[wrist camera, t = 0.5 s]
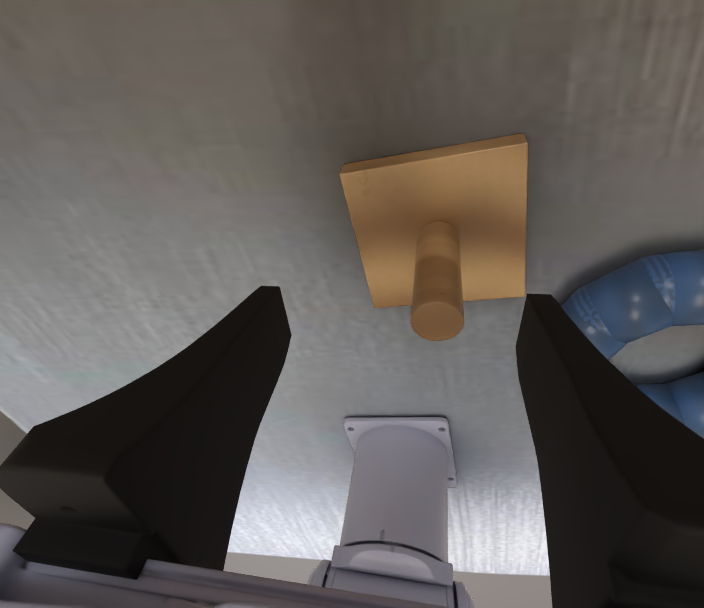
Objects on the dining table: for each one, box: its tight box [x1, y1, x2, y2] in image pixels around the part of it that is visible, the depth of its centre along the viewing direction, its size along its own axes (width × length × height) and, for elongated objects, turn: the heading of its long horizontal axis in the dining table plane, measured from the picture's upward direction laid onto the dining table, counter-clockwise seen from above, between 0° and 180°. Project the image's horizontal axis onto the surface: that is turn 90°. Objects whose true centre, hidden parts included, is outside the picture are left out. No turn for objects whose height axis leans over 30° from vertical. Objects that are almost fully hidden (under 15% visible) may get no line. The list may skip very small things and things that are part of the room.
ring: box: [561, 250, 704, 438], centre depth 22 cm, size 13×13×3 cm
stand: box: [340, 133, 528, 341], centre depth 19 cm, size 8×8×7 cm
